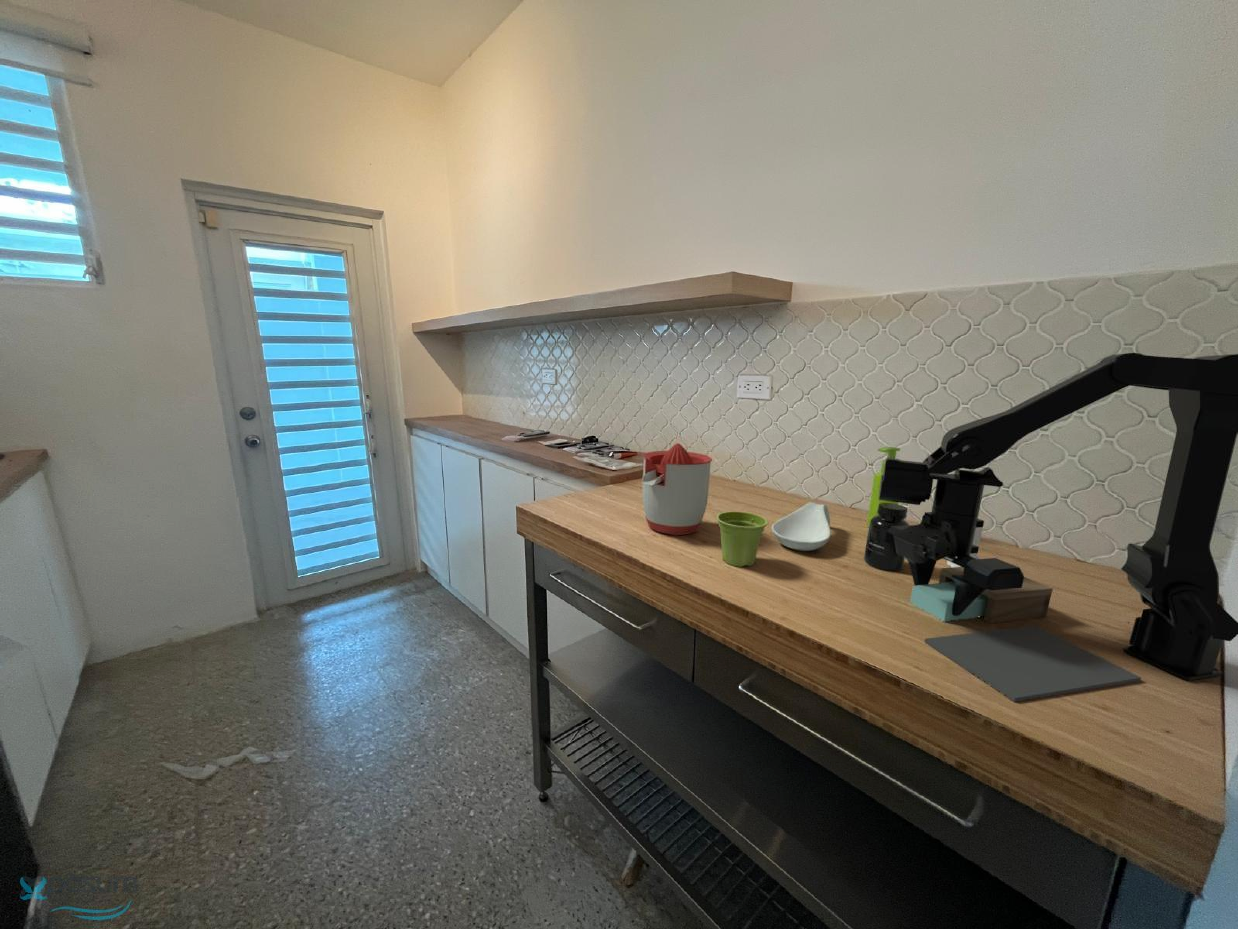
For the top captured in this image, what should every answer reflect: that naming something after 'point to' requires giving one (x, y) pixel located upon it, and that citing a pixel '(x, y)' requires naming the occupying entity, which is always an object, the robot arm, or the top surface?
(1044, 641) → the rubber mat
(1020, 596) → the sleeve box
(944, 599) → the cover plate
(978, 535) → the white wedge bracket
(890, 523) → the supplement bottle
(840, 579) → the top surface
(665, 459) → the citrus juicer
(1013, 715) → the top surface
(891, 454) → the soap dispenser
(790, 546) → the spoon rest
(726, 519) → the plant pot
